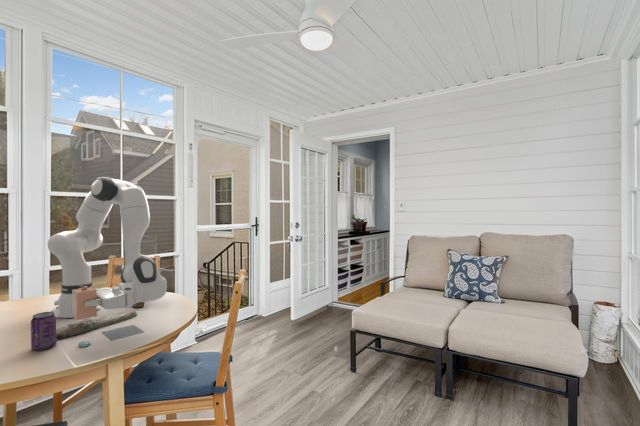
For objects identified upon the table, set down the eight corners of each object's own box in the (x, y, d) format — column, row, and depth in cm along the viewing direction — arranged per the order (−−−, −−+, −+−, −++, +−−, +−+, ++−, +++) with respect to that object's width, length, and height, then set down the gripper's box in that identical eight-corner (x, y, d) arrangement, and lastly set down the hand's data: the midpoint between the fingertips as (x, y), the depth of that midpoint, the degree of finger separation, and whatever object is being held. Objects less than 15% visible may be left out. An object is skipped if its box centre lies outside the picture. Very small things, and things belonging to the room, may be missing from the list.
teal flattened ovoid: (77, 347, 124) (77, 343, 124) (88, 344, 127) (88, 340, 127) (79, 350, 122) (79, 345, 122) (91, 347, 125) (91, 342, 125)
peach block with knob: (72, 316, 124) (72, 286, 124) (91, 312, 128) (91, 283, 128) (76, 320, 120) (76, 289, 120) (96, 316, 124) (96, 286, 124)
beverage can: (40, 343, 127) (40, 311, 127) (61, 343, 128) (60, 311, 127) (25, 351, 120) (25, 317, 120) (47, 351, 121) (47, 317, 120)
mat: (101, 333, 137) (101, 332, 137) (133, 326, 146) (133, 324, 146) (111, 342, 129) (111, 340, 129) (144, 333, 138) (144, 332, 138)
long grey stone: (142, 320, 157) (129, 318, 162) (142, 308, 158) (129, 306, 162) (54, 343, 126) (41, 339, 131) (55, 329, 127) (41, 325, 131)
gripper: (114, 282, 140) (73, 288, 130) (133, 291, 127) (89, 298, 116) (114, 297, 141) (74, 304, 130) (133, 308, 127) (89, 317, 117)
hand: (81, 301), depth 123 cm, fingers closed on peach block with knob, 6 cm apart
